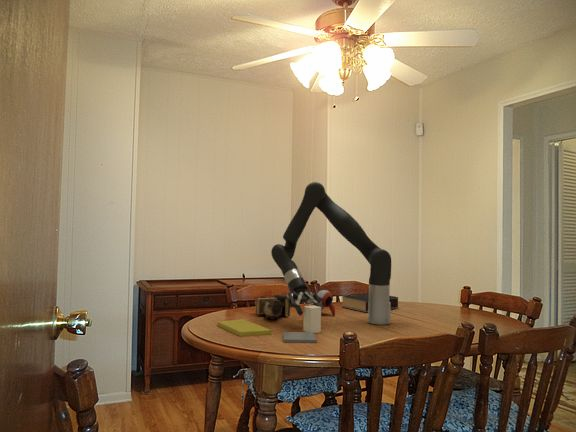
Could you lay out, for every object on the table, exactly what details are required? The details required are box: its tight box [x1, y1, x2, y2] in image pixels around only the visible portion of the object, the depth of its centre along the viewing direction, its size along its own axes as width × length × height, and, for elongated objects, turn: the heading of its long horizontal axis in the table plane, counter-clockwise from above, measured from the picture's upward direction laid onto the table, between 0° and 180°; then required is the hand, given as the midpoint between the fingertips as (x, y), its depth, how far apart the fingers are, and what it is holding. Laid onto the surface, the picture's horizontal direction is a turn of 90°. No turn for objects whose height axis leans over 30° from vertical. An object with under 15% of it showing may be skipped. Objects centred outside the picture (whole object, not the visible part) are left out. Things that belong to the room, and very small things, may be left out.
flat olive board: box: [216, 318, 272, 338], centre depth 181 cm, size 12×2×24 cm
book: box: [341, 293, 399, 313], centre depth 239 cm, size 17×25×7 cm
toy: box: [309, 289, 336, 317], centre depth 220 cm, size 14×15×14 cm
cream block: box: [302, 305, 322, 334], centre depth 181 cm, size 5×5×10 cm
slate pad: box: [282, 331, 318, 344], centre depth 169 cm, size 12×12×1 cm
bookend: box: [254, 294, 291, 320], centre depth 208 cm, size 14×11×24 cm
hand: (310, 313), depth 182 cm, fingers open, 8 cm apart
